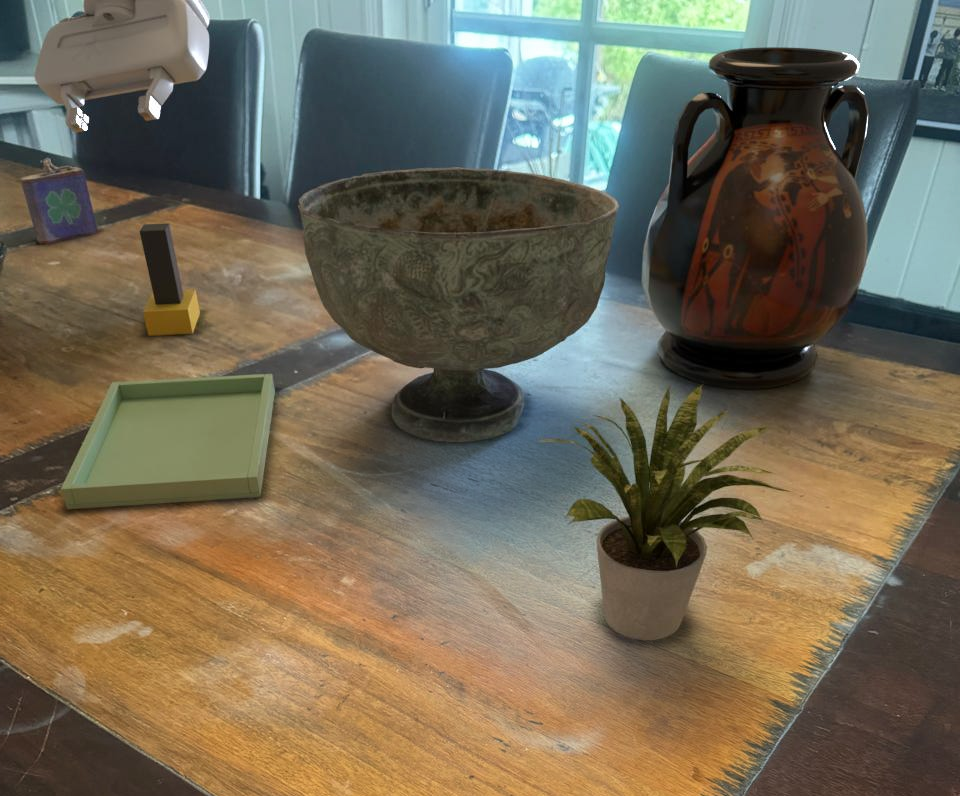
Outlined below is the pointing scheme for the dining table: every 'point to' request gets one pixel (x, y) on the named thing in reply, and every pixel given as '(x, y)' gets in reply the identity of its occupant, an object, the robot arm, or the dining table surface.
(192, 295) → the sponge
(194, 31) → the robot arm
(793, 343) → the amphora vase
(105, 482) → the tray
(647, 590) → the house plant
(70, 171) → the flask
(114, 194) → the dining table surface
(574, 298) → the decorative bowl
